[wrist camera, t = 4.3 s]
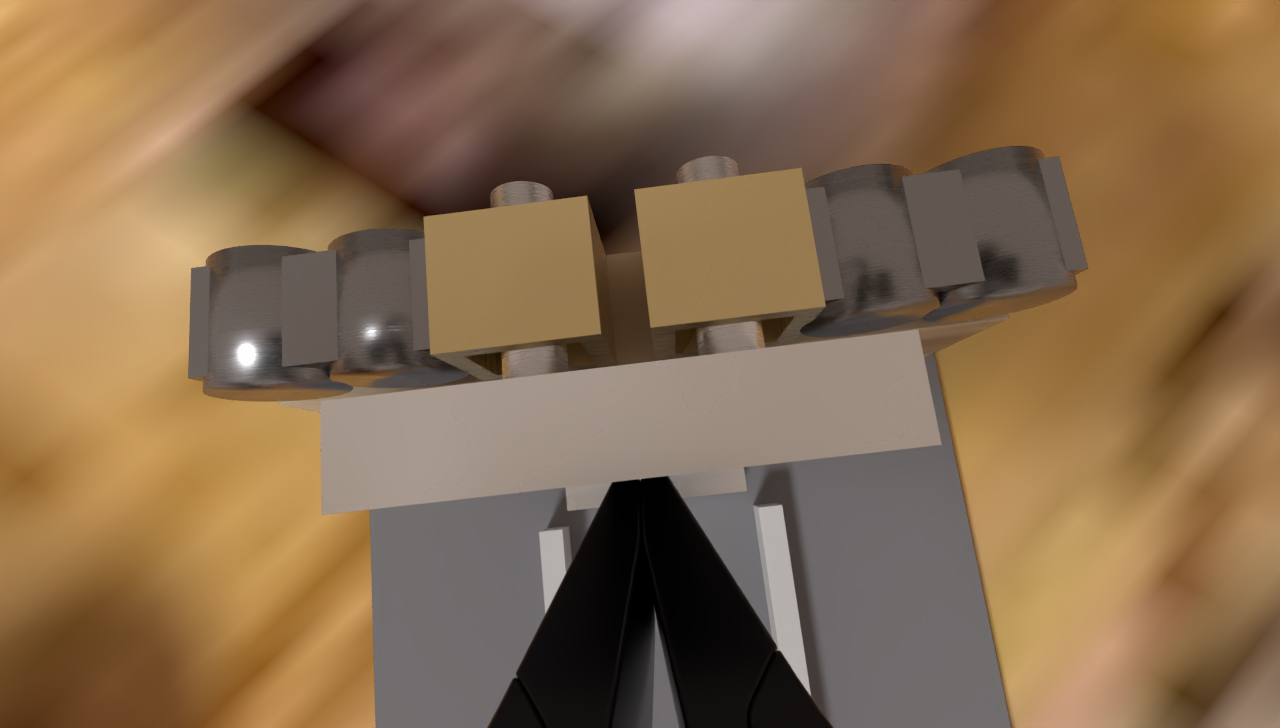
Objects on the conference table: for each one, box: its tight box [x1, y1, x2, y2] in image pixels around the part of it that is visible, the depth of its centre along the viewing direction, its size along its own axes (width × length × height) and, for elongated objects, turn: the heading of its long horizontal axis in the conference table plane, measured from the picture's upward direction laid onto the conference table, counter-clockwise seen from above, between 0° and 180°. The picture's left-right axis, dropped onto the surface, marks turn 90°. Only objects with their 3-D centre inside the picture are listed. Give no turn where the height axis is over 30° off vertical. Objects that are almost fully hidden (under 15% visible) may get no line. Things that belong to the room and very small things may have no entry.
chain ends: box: [188, 146, 1088, 401], centre depth 11 cm, size 2×16×3 cm, turn 96°
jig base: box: [370, 353, 1011, 728], centre depth 16 cm, size 15×16×2 cm
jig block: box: [279, 251, 1010, 413], centre depth 15 cm, size 2×15×4 cm, turn 97°
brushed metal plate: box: [320, 156, 942, 515], centre depth 12 cm, size 6×6×10 cm
